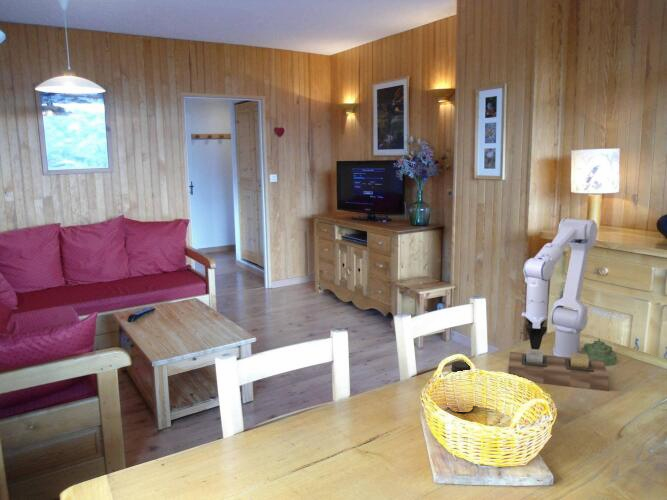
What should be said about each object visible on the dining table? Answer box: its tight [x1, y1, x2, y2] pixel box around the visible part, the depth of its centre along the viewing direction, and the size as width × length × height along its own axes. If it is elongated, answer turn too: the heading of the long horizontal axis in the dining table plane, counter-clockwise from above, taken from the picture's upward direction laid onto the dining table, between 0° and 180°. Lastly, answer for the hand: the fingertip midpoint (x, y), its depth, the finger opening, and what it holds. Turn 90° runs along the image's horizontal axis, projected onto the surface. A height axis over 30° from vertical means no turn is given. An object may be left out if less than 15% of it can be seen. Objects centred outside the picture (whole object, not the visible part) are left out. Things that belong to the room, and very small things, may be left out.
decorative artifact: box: [580, 338, 617, 367], centre depth 164 cm, size 10×7×10 cm
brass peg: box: [569, 352, 589, 369], centre depth 150 cm, size 4×4×4 cm
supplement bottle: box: [450, 360, 472, 372], centre depth 136 cm, size 7×7×12 cm
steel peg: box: [525, 348, 544, 364], centre depth 155 cm, size 4×4×4 cm
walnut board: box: [507, 351, 610, 392], centre depth 153 cm, size 12×26×4 cm, turn 70°
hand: (535, 344), depth 154 cm, fingers open, 7 cm apart
